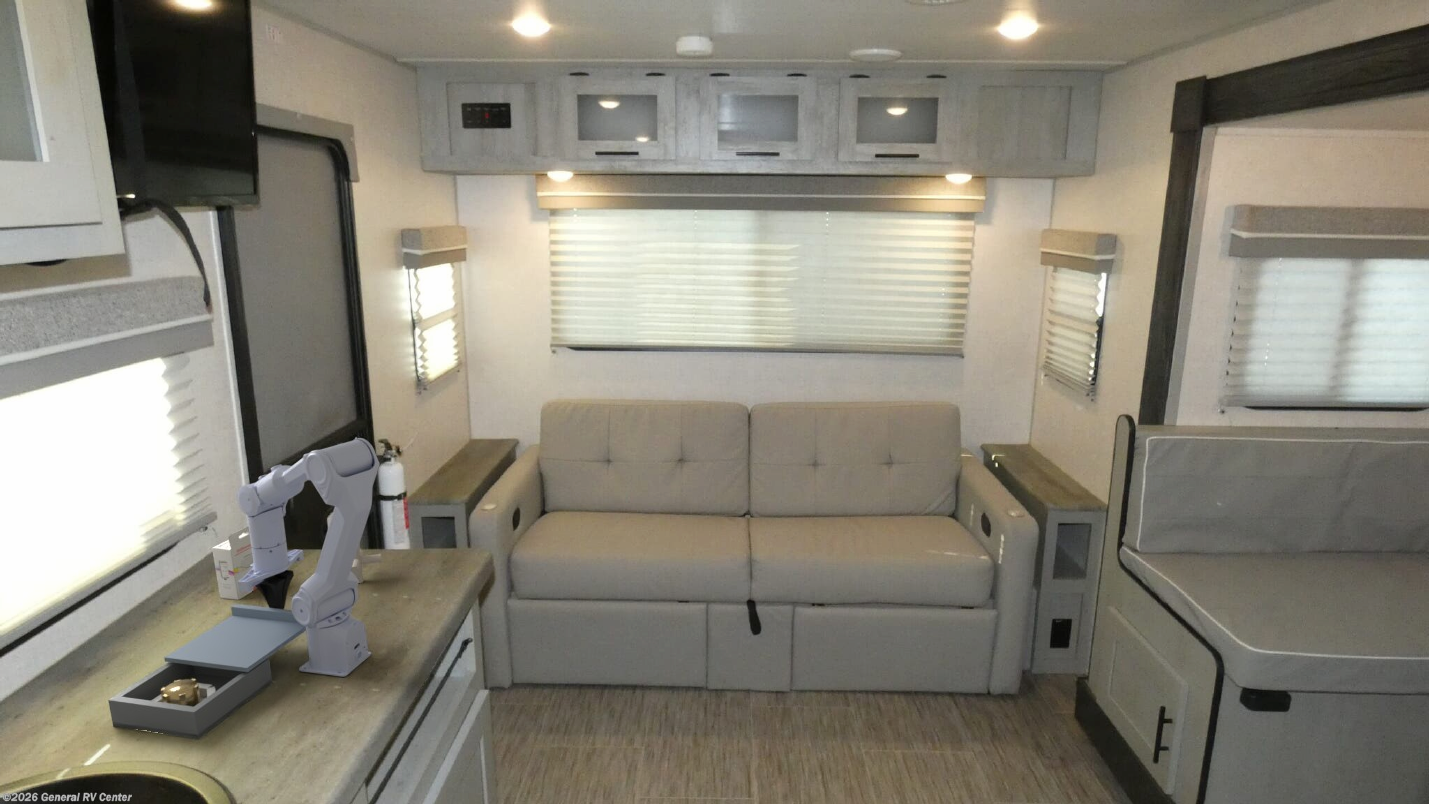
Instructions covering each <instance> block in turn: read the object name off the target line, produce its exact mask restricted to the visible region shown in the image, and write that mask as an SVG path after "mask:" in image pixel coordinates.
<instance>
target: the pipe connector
mask: <svg viewBox="0 0 1429 804" xmlns="http://www.w3.org/2000/svg"><path fill="white" fill-rule="evenodd" d="M360 543H361V542H360ZM360 543H359V546H358V549H357V553H356V556H355V559H354V562H353V565H352V568H351V572H352V573H353V574H354V575H355V576H356V578H357V579H358V581H359V583H360V584H362V583H363V582H364V575H363V565H367V564H368V565H369V564H377V563H382V554H381V553H378V554H370V555H364V553H365V552H364V550H363V549H362V548H361V545H360Z"/></svg>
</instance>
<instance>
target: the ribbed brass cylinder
mask: <svg viewBox="0 0 1429 804" xmlns="http://www.w3.org/2000/svg"><path fill="white" fill-rule="evenodd" d="M160 691H161V697H162V702H163V703H170V704H177V705H185V706H192V707H194V706H196V705H197V704H198V703H200V702H201V699H200V692H199V685H197V681H196V679H191V680H190V679H186V680H177V681H174V682H173V683H171V684H169V685H168V686H166V687H164V688H162V689H161V690H160Z"/></svg>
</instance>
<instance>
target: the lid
mask: <svg viewBox="0 0 1429 804" xmlns="http://www.w3.org/2000/svg"><path fill="white" fill-rule="evenodd" d="M230 608H231V609H230V610H231V616H229V617H228V618H225V620H222V621H221V622H220V623H218V624H216V625H214V626H213V627H211V628H210V629H208V630H206V631H204V632H203V633H201V634H200V635H198V636H197V637H195V638H192V639H191V640H190V641H188V642H187V643H185V644H184V645H182V646H181V647H178V648H177V649H175V650H174V651H172V652H171V653H168V654H166V656H164V658H163V659H164V662H166V663H168V662H172V663H180V664H188V665H195V666H203V667H211V668H218V669H226V670H234V671H242V672H249V671H250V670H252V669H253V668H254V667H256V666H257V665H259V664H260V663H261V662H263V661H264V660H266V659H267V658H270V657H271V656H273V655H274V654H275V653H277V652H278V651H279V650H281V649H282V648H284V647H285V646H287V645H288V644H289V643H290V642H292V641H294V640H295V639H296V638H299V636H300V635H302V634H303V633H304V632H306V627H305V626H303V625H302V624H300V623H299V622H298V621H297V620H296V619H295V617H294V615H293V613H292V609H285V608H284V609H277V608H269V606H268V607H266V606H257V605H249V604H241V603H235V604H234V605H232V606H231V607H230Z"/></svg>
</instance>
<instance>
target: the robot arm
mask: <svg viewBox="0 0 1429 804" xmlns="http://www.w3.org/2000/svg"><path fill="white" fill-rule="evenodd" d="M379 467H380V462H379V459H378V457H377V454H376V450H375V449H374V447H373V445H372V444H371V443H370V442H369V441H368V440H367V439H365V438H363V437H362V438H361V437H359V438H354V439H353V440H349V441H347V442H343V443H340V444H337V445H336V444H335V445H332V446H329V447H325V448H322V449H315V450H311V451H310V452H308V453H305V454H303V456H302V458H301V459H299V460H298V461H296V463H294V464H293V465H282V464H277V465H274V466H272V467H271V468H270V472H269V473H268V474H266V473H265V474H262V475H260V476H259V477H257V478H258V480H257V481H256V482H253V483H250V484H242V485H241V486H240V487H239V488H238V490H237V495H236V497H237V503H238V505H239V509H240V510H241V511H242V512H243V514H245V516H246V517H247V526H249V532H248V534H249V533H250V540H251V548H252V555H253V564H251V565H250V566H251V570H250V571H249V572H248V573H247V574H246V575H245V576H244V577H243V578H242V579H240V580H239V581H238V587H239V591H246V592H249V591H251V590H252V587H254V586H256V587H257V590H258V591H259V592H260V593H261V594H262V596H263V598H264V600H265V602H266V604H267V605H268V608H277V609H285V607H286V599H287V594H288V590H289V588H290V584H291V583H292V580H293V578H294V576H295V575H294V573H295V572H294V570H291V569H290V567H291V566H292V565H293V564H295V563H297V562H302V561H304V560H305V559H304V558H305V557H304V550H302V549H293V550H290V551H288V546H287V545H288V544H287V538H286V529H285V521H284V517H285V516H286V513H287V511H286V509H287V508H286V506H287V504H288V501H289V500H290V499H292V498H294V497H295V496H297V495H298V494H300V493H301V492H302V491H303V489H304V487H305V483H306V482H307V481H311V484H313V486H314V487H315V489H316V491H317V492H318V494H319V495H320V497H321V499H322V500H323V502H324V503H325V505H329V506H333V507H334V508H333V512H332V515H331V519H330V522H329V524H328V525H329V526H328V528H327V532H326V534H325V537H324V538H325V539H324V541H323V545H322V549H321V552H320V555H319V559H318V562H317V564H316V568H315V572H314V573H313V574H312V575H310V576H309V577H308V578H307V579H306V580H305V581H304V582H303V583H302V584H301V585H300V587H299V590H298V591H297V593H295V594H294V595H293V596H292V600H291V603H290V605H291V606H290V607H291V609H290V610H292V613H293V615H294V617H295V619H296V620H297V621H298V622H299V623H300V624H302V625H303V626H305V627H306V631H305V632H306V640H307V641H306V642H307V649H308V657H309V660H308V661H306V662H305V663H304V664H302V665H301V666H300V667H299V668H298V670H299V672H305V673H311V674H319V675H325V676H326V675H327V676H328V675H329V676H335V677H343V678H344V677H347V676H348V675H349V674H350V673H352V672H354V670H355V669H356V668H358V666H360V665H361V664H362V663H363V662H364V661H365V660H366V659H368V658H369V657H370V656H371V655H372V652H371V651H369V648H368V646H369V645H368V638H367V636H368V635H367V628H366V624H365V623H364V622H363V621H362V620H361V619H357V618H355V617H353V616H352V615H350V614H353V607H354V606H355V605H356V604H357V602H358V599H359V597H358V596H359V593H358V586H359V584H358V583H359V581H358V579H357V578H356V576H355V575H354V574H353V573H352V572H351V568H352V565H353V562H354V559H355V556H356V553H357V549H358V546H359V543H361V540H362V537H363V533H364V530H365V527H366V524H367V521H368V518H369V515H370V512H371V510H372V509H371V508H372V505H373V486H374V483H375V480H376V478H377V474H378V471H379ZM289 569H290V570H289Z"/></svg>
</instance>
